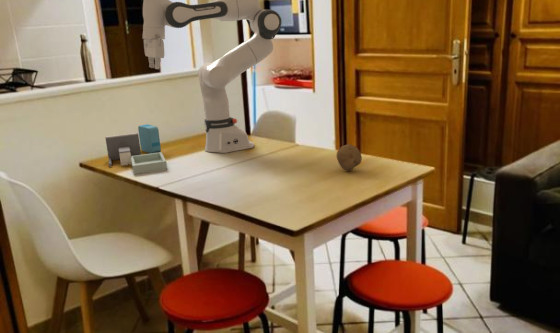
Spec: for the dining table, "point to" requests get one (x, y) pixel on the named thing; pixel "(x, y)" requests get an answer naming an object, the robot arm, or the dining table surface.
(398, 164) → the dining table surface
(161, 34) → the robot arm
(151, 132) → the data package
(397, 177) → the dining table surface
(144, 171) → the tray
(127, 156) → the tall grey rectangular block
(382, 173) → the dining table surface
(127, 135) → the bay
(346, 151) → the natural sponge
